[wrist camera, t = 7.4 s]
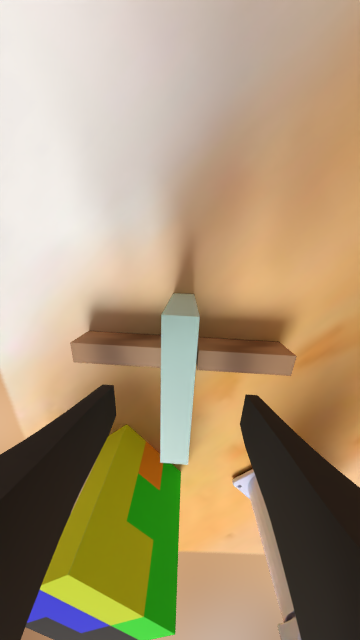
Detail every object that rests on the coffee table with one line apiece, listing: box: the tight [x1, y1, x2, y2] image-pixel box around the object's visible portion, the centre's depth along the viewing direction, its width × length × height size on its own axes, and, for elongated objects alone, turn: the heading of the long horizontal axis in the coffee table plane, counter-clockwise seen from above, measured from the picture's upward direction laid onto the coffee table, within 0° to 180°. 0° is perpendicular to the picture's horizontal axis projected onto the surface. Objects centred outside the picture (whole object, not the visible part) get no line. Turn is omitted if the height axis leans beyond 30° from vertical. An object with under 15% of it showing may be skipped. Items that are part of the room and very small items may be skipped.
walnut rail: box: [70, 331, 296, 376], centre depth 15 cm, size 18×2×3 cm, turn 88°
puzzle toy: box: [25, 424, 181, 640], centre depth 17 cm, size 10×10×10 cm
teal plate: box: [160, 293, 200, 465], centre depth 13 cm, size 10×2×7 cm, turn 178°
